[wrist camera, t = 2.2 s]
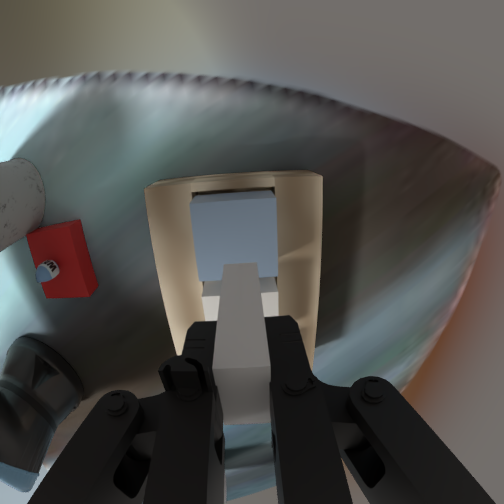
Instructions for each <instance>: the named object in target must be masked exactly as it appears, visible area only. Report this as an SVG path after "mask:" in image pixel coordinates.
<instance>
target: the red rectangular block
mask: <svg viewBox="0 0 504 504" xmlns="http://www.w3.org/2000/svg"><path fill="white" fill-rule="evenodd" d="M26 237H27V241H28V244H29V248H30V251H31V255H32V258H33V261H34V264H35V267H36V281H37V282H41V285H42V287H43V290H44V293H45V295H46V298H74V297H90V296H91V294H92V293H93V292H94V291H95V290H96V288H97V287H98V283H97V279H96V276H95V273H94V270H93V266H92V263H91V259H90V256H89V252H88V249H87V245H86V241H85V237H84V233H83V229H82V225H81V220H80V219H79V220H74V221H69V222H64V223H59V224H54V225H49V226H45V227H40V228H37V229H35V230H33V231H32V232H30V233H28V234H26Z"/></svg>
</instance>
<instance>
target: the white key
mask: <svg viewBox="0 0 504 504" xmlns="http://www.w3.org/2000/svg"><path fill="white" fill-rule="evenodd" d="M259 282H260V289H261V297H262V304H263V312H264V317H271V316H278V289H277V285H276V281H275V278H274V277H263V278H259ZM221 283H222V280H217V281H205V282H204V287H203V292H202V303H203V310H204V316H205V321H217V318H218V309H219V300H220V292H221Z"/></svg>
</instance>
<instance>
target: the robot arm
mask: <svg viewBox="0 0 504 504" xmlns="http://www.w3.org/2000/svg"><path fill="white" fill-rule="evenodd" d="M158 372H159V375H160V377H161V380H162V383H163V385H164V388H165V392H163V393H161V394H159V395H155V396H151V397H146V398H141V399H137V398H136V396H135V395H134V394H133V393H131V392H129V391H126V390H115V391H111V392H109V393H107V394H105V395H104V396H103V397H102V398H101V399H99V401H98V402H97V403H96V405H95V406H94V407H93V409H92V410H91V412H90V413H89V414H88V416H87V417H86V418H85V420H84V421H83V423H82V424H81V425H80V427H79V428H78V430H77V431H76V432H75V434H74V435H73V437H72V438H71V440H70V441H69V442H68V444H67V445H66V447H65V448H64V449H63V451H62V452H61V454H60V455H59V457H58V458H57V460H56V461H55V463H54V464H53V465H52V467H51V468H50V470H49V471H48V473H47V474H46V476H45V477H44V479H43V480H42V482H41V483H40V485H39V486H38V488H37V489H36V491H35V492H34V494H33V495H32V497H31V499H30V500H29V502H28V503H27V504H142V502H143V504H224V457H225V438H224V433H223V421H224V425H235V424H257V423H271V428H272V448H273V455H274V465H275V475H276V485H277V495H278V504H353V502H352V498H351V495H350V491H349V486H348V483H347V479H346V475H345V471H344V467H343V463H342V460H341V458H342V459H343V461H344V463H345V464H346V466H347V468H348V469H349V471H350V473H351V474H352V476H353V477H354V479H355V481H356V482H357V484H358V485H359V487H360V488H361V490H362V492H363V493H364V495H365V497H366V498H367V500H368V501H369V503H370V504H496V503H495V502H494V501H493V500H492V499H491V498H490V496H489V495H488V494H487V493H486V492H485V490H484V489H483V488H482V487H481V486H480V484H479V483H478V482H477V481H476V480H475V478H474V477H473V476H472V475H471V474H470V473H469V471H468V470H467V469H466V468H465V467H464V466H463V464H462V463H461V462H460V461H459V460H458V459H457V458H456V456H455V455H454V454H453V453H452V452H451V451H450V449H449V448H448V447H447V446H446V445H445V444H444V443H443V441H442V440H441V439H440V438H439V437H438V436H437V435H436V434H435V432H434V431H433V430H432V429H431V428H430V427H429V425H428V424H427V423H426V422H425V421H424V420H423V419H422V418H421V416H420V415H419V414H418V413H417V412H416V411H415V410H414V408H413V407H412V406H411V405H410V404H409V403H408V402H407V401H406V400H405V398H404V397H403V396H402V395H401V394H400V393H399V392H398V390H397V389H396V388H395V387H394V386H393V385H392V384H391V383H390V382H388V381H387V380H385V379H383V378H380V377H373V376H368V377H364V378H360V379H359V380H357V381H356V382H354V383H353V385H352V386H351V387H339V386H332V385H328V384H325V383H323V382H321V381H320V380H318V379H317V377H316V376H314V375H313V373H312V371H311V368H310V364H309V361H308V357H307V354H306V350H305V347H304V343H303V340H302V336H301V334H300V329H299V326H298V323H297V322H296V321H295V320H294V319H293V318H292V317H291V316H290V315H284V316H271V317H264V312H263V304H262V297H261V289H260V282H259V274H258V267H257V262H252V263H236V264H224V266H223V275H222V283H221V292H220V300H219V309H218V318H217V321H195V322H194V323H193V324H192V325H191V326H190V327H189V328H188V330H187V333H186V337H185V341H184V346H183V350H182V354H181V355H177V356H175V357H172V358H170V359H168V360H167V361H165V362H164V363H163V364H162V365H161V366H160V368H159V370H158ZM83 394H84V390H83V386H82V383H81V381H80V379H79V377H78V376H77V374H76V373H75V371H74V370H73V369H72V368H71V366H70V365H69V364H68V363H67V362H66V361H65V360H64V359H63V358H62V357H61V356H60V355H58V354H57V353H56V352H55V351H54V350H52V349H51V348H49V347H48V346H46V345H45V344H43V343H41V342H39V341H37V340H35V339H32V338H28V337H20V338H17V339H16V340H15V341H14V342H13V344H12V345H11V346H10V347H9V349H8V351H7V356H6V359H5V362H4V365H3V369H2V372H1V376H0V481H1V482H3V483H5V484H6V485H8V486H10V487H12V488H14V489H16V490H18V491H20V492H29V491H30V490H31V489H32V487H33V485H34V483H35V481H36V479H37V477H38V476H39V471H40V468H41V465H42V463H43V460H44V458H45V455H46V453H47V450H48V448H49V445H50V443H51V440H52V438H53V436H54V433H55V431H56V429H57V427H58V425H59V424H60V423H61V422H62V421H63V420H64V419H65V418H66V417H67V416H68V415H69V414H70V412H72V411H74V410H75V409H76V408H77V407H78V406H79V404H80V402H81V400H82V398H83ZM143 499H144V501H143Z"/></svg>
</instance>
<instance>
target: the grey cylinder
mask: <svg viewBox="0 0 504 504" xmlns="http://www.w3.org/2000/svg"><path fill="white" fill-rule="evenodd" d="M45 200H46V199H45V190H44V185H43V181H42V179H41V176H40V174H39V172H38V171H37V169H36V168H35V166H34V165H33V164H32V163H31V162H29V161H27V160H26V159H22V158H16V159H12V160H10V161H5V162H1V163H0V252H1V251H2V250H4V249H6V248H7V247H9V246H10V245H12V244H13V243H15V242H17V241H18V240H20V239H22V238H23V237H25V236H26V234H28V233H30V232H32V231H33V230H35V229H37V228H38V226H39V225H40V223H41V221H42V219H43V216H44V211H45Z"/></svg>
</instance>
